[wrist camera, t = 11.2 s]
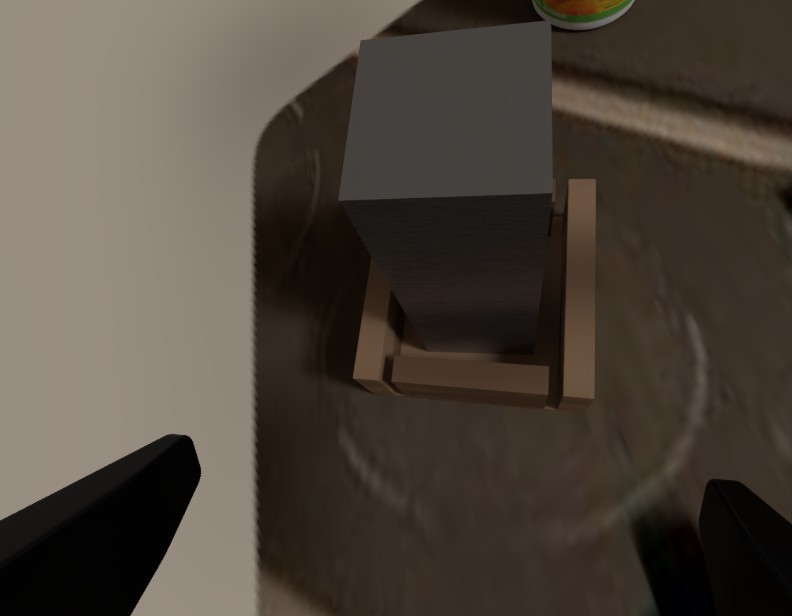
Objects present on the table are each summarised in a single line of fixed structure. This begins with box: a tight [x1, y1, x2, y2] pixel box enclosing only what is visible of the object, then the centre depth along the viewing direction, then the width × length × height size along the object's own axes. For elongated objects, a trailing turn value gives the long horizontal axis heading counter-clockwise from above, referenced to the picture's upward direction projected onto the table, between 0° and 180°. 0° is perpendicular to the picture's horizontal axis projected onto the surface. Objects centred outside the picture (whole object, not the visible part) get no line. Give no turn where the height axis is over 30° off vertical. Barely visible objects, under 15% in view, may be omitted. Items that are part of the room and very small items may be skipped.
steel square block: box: [338, 20, 553, 355], centre depth 17 cm, size 4×4×12 cm
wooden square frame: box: [353, 179, 596, 413], centre depth 22 cm, size 9×9×4 cm
